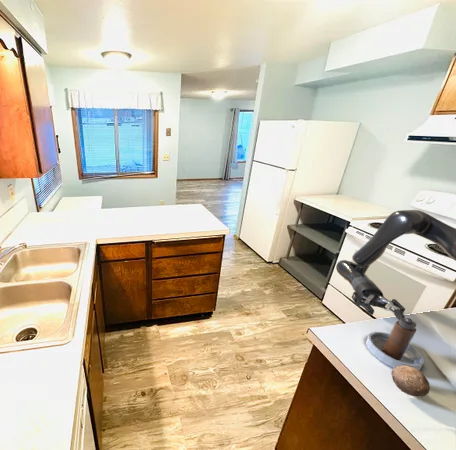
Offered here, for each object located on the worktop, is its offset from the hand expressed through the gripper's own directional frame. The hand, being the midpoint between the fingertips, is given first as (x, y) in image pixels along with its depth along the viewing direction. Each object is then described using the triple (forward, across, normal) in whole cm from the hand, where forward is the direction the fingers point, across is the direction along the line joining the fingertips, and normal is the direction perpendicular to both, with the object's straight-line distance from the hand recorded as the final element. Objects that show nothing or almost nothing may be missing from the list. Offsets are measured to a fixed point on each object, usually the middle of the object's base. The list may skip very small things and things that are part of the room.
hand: (387, 315), depth 84 cm
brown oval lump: (+21, -2, +9) cm, 23 cm away
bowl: (+9, 0, +9) cm, 13 cm away
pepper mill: (+9, 0, +8) cm, 12 cm away
